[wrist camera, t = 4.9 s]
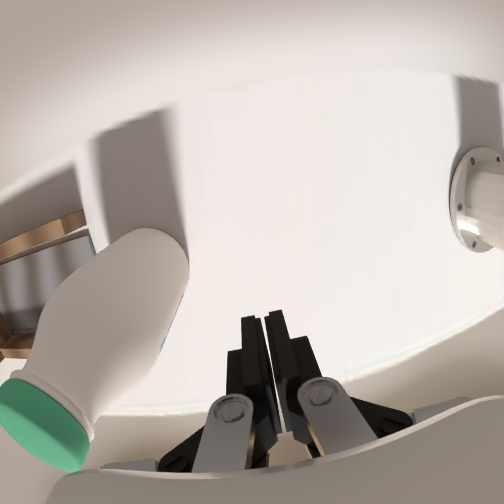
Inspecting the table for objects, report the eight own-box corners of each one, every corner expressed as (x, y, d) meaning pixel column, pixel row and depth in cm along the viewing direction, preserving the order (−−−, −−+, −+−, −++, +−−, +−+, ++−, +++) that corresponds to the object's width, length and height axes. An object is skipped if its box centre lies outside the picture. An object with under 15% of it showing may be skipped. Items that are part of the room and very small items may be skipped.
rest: (82, 209, 23) (46, 223, 17) (128, 335, 27) (108, 369, 22) (-24, 255, 24) (-51, 270, 18) (13, 343, 28) (-8, 365, 22)
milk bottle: (108, 229, 24) (-59, 349, 5) (186, 222, 24) (54, 395, 5) (123, 303, 26) (22, 462, 7) (195, 302, 26) (144, 506, 7)
